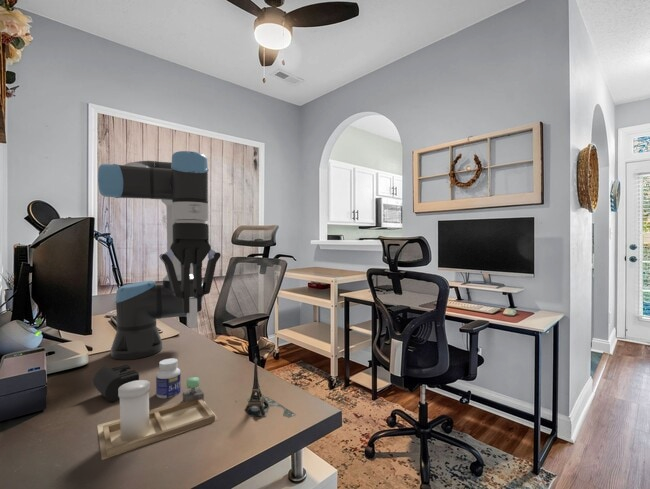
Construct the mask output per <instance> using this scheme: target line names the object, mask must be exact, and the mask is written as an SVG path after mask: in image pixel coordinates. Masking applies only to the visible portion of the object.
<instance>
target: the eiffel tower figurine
mask: <svg viewBox="0 0 650 489" xmlns="http://www.w3.org/2000/svg"><path fill="white" fill-rule="evenodd" d="M256 355H257V353H255V355H254V356H255V358H254V360H253V362H254V369H253V370H254V371H253V383H252V389H251V395H250V397H248V398H247V399H246V401H247V402H248V403H247V405H245V406H246V407H245V408H244V410H243V411H244V412H245V413H246V414H247V415H248V416H249V417H251V418H267V416H268V413H269V410H270V408H271V407H274V408H275V407H276V408H282V409H283V414H282V416H283V417H286V418H288V419H289V418H291V417H294V416H295V415H296V413H295V412H293V411H291V410H290V409H288V408H286V407H285V406H284V405H282V404H280V403H279V402H277V401H275V400H274V399H272V398H270V397H269V396H266V395H265V396H264V394H262V391H261V386H260V384H259V375H258V374H259V373H258V357H257V356H256ZM234 402H236V403H238V401H237V400H234Z"/></svg>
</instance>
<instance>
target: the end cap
mask: <svg viewBox="0 0 650 489" xmlns="http://www.w3.org/2000/svg"><path fill="white" fill-rule="evenodd" d="M130 369H131V366H130V365H128V364H123V365H118V366H114V367H110V366H109V365H105V366H103V367H101V368H100V369H99V370H97V372H96V373H95V374H94V376H93V380H92V382H93V386H94V388H95V389H96V390H97V391H98V392H99V393H100V394H101V395H102V396H103V398H104V399H106V401H108V402H109V403H112V404H113V403H118V402H120V398H119V396H118V388H119V387H120V386H122V385H123V384H125V383H128V382H131V381H136V380H140V374H139V372H138V371H136V370H135V369H132V370H130ZM127 370H129V371H127Z"/></svg>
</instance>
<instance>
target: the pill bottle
mask: <svg viewBox="0 0 650 489" xmlns="http://www.w3.org/2000/svg"><path fill="white" fill-rule="evenodd" d="M178 364H179V363H178V359H177V358H165V359H162V360H160V361H159V363H158V367H159V370H158V371H157V372H156V376H155V379H156V380H155V384H156V387H155V389H156V390H155V391H156V392H155V393H156V394H155V396H156V398H159V399H171V398H173V397H176V396H178V395H180V393H181V387H182V386H181V385H182V384H181V368H179V367H178Z"/></svg>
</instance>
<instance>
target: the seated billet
mask: <svg viewBox="0 0 650 489" xmlns="http://www.w3.org/2000/svg"><path fill="white" fill-rule="evenodd" d="M150 391H151V382H150V381H149V380H147V379H139V380H136V381H131V382H128V383H125V384H123V385H122V386H120V387H119V388H118V396H119V398H120V401H119V419H120V438H121V440H122V441H127V442H128V441H133V440H136V439H139V438H142V437H144V436H146V435H147V434H148V433H149V430H150V429H149V410H150Z"/></svg>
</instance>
